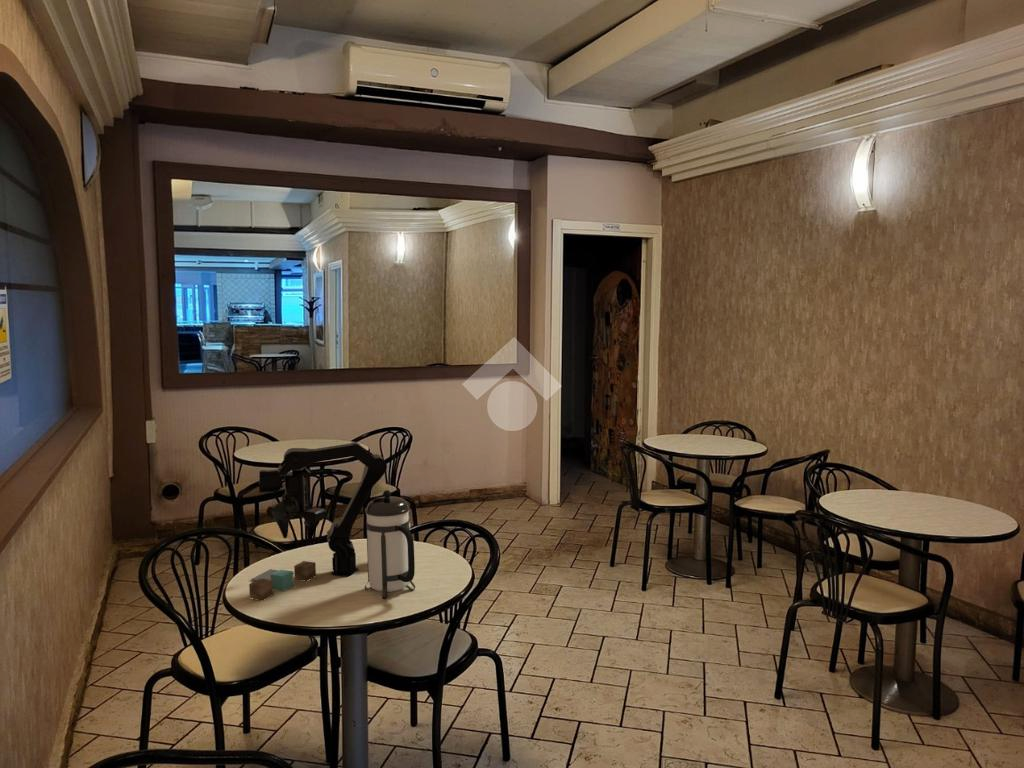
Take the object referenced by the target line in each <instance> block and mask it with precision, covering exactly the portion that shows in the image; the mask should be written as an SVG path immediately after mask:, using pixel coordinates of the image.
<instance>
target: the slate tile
mask: <svg viewBox="0 0 1024 768" xmlns="http://www.w3.org/2000/svg"><path fill="white" fill-rule="evenodd" d="M278 570H279V569H268V570H266V571H264V572H262V573H260V574H258V575H257V576H255V577H253V578H251V579H250V582H254V581H256V580H258V579H267V580H271V574H273V573H275V572H277V571H278ZM293 575H295V572H294V571H293Z"/></svg>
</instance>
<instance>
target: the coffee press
mask: <svg viewBox="0 0 1024 768" xmlns="http://www.w3.org/2000/svg"><path fill="white" fill-rule="evenodd" d="M382 495H383V496H381V497H376V498H374V499H372V500H371V499H370V501H369V502H368V503H367V505H366V507H365V508H364V511H365V514H366V521H365V528H366V549H367V550H366V553H367V554H366V555H367V583H366V584H365V586H364V590H365V591H369V590H370V589H373V590H375V591H378V592H381V600H387V599H388V596H389V592H390V593H391V592H396V591H400V590H403V589H404V588H407V589H408V590H410V591H411V592H414V591H415V589H416V584H414V582H413V580H414V578H415V577H414V576H415V567H416V566H415V544H414V538H413V534H412V533H411V530H410V529H409V523H410V517H409V512H410V505H409V504H408V502H407V501H406V499H404V498H402V497H399V496H392V493H391V491H390V490H389V489H387V490H384V491H383V493H382ZM409 584H411V586H412V587H413V588H412V587H411V586H409ZM367 585H369V586H370V587H367Z"/></svg>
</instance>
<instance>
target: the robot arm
mask: <svg viewBox="0 0 1024 768" xmlns="http://www.w3.org/2000/svg"><path fill="white" fill-rule="evenodd" d="M352 457H354V458H356V460H358V461H359V462H360V463H362V464H363V465H364V467H363V471H362V475H361V476H362V477H361V480H360V482H359V483H358V485H357V488H356V489H355V491H354V492H353V495H352V497H351V499H350V500H349V503H348V504H347V506H346V509H345V511H344V513H343V514H342V516H341V518H340V519H339V520H338V521H337V522H335V521H332V522H331V525H330V528H329V529H328V530H327V531H326V536H327V537H326V538H327V545H328V547H329V549H330V550H331V552H333V553H332V558H331V561H332V563H331V565H332V571H331V572H330V575H334V576H341V577H350V576H352V575H353V574H355V573H356V572H358V571H359V570H360V568H359V567H357V560H356V559H357V558H356V554H357V553H356V549H355V547H354V543H353V541H352V540H350V537H351V534H352V528H353V526H354V524H355V523H356V521H357V520H356V519H357V518H358V516H359V514H360V512H361V511H362V508H363V506H364V504H365V503H366V501H367V498H368V496H369V495H370V493H371V491H372V489H373V487H374V486H375V485H376V484H377V483H378V482H379V481H380V480H381V479H382V477H383V476H384V474H385V473H386V472H387V470H388V464H387V462H386V461H385V459H384V457H382V455H380V454H377V453H376V454H374V453H372V452H371V451H370V450H368V449H367V448H364V447H363V446H362V445H361V444H360V443H359V442H356V441H353V442H350V443H345V444H338V445H331V446H326V447H319V448H307V447H292V448H288V449H287V450H286V451H285V452H284V453H283V460H282V462H281V463H280V465H278V467H277V469H269V470H266V469H262V470H259V471H258V472H259V473H258V474H259V478H258V479H259V480H258V487H259V488H258V489H259V490H258V491H259V494H268V493H278V492H280V490H282V489H283V478H284V494H282V496H281V501H280V502H278V503H276V504H275V503H274V504H272V505H270V506H268V507H267V509H266V517H268V518H269V519H270V520H272V521H274V522H275V523H276V524H277V526H278V528H279V530H280V533H281V535H282V538H283V539H287V538H288V534H289V524H290V523H289V521H290V517H294V516H296V517H303V519H304V521H303V523H304V525H305V526H306V527H305V528H306V538H307V542H308V543H310V542H312V540H313V537H314V535H315V533H316V529H318V528H317V527H318V526H319V524H320V522H321V521H323V520H324V519H326V518H327V510H326V509H325V508H323V507H322V508H320V507H313V508H310V509H309V504H306V496H308V494H309V493H308V491H306V488H305V477H306V476H311V471H310V470H309V469H307V467H308V466H310V465H312V464H316V463H320V462H326V461H332V460H338V459H339V460H340V459H345V458H352ZM307 509H309V510H307Z"/></svg>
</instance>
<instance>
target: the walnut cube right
mask: <svg viewBox="0 0 1024 768" xmlns="http://www.w3.org/2000/svg"><path fill="white" fill-rule="evenodd" d="M316 566H317V565H316V562H313V561H307V560H303V561H300V562H298V563H296V564H295V565H293V567H294V571H293V572H294V580H295V581H300V580H305V581H304V582H308V581H307V580H309V579H311V578H312V579H314V578H315V577H314V576H316V577H317V572H316V571H317V568H316ZM313 577H314V578H313ZM312 579H311V580H312ZM309 581H310V580H309Z"/></svg>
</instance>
